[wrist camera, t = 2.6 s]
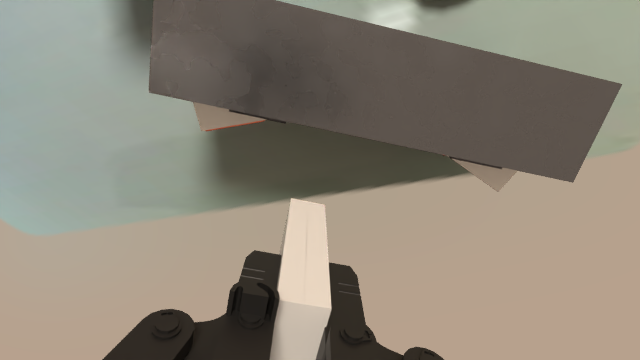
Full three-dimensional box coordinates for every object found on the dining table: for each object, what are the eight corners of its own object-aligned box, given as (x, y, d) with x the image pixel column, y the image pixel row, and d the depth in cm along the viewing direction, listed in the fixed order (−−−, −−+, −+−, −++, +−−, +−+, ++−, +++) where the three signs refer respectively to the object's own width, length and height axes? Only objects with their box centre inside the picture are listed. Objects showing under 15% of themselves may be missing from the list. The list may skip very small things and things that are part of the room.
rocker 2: (384, 109, 39) (398, 123, 33) (401, 87, 39) (419, 97, 32) (468, 169, 42) (496, 193, 35) (485, 149, 41) (517, 170, 35)
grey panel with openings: (209, 74, 43) (148, 96, 27) (217, -4, 40) (154, -29, 24) (483, 134, 46) (571, 185, 30) (509, 66, 43) (622, 84, 27)
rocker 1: (220, 116, 39) (202, 133, 33) (213, 90, 38) (192, 101, 32) (331, 97, 39) (335, 110, 32) (327, 70, 38) (330, 77, 31)
